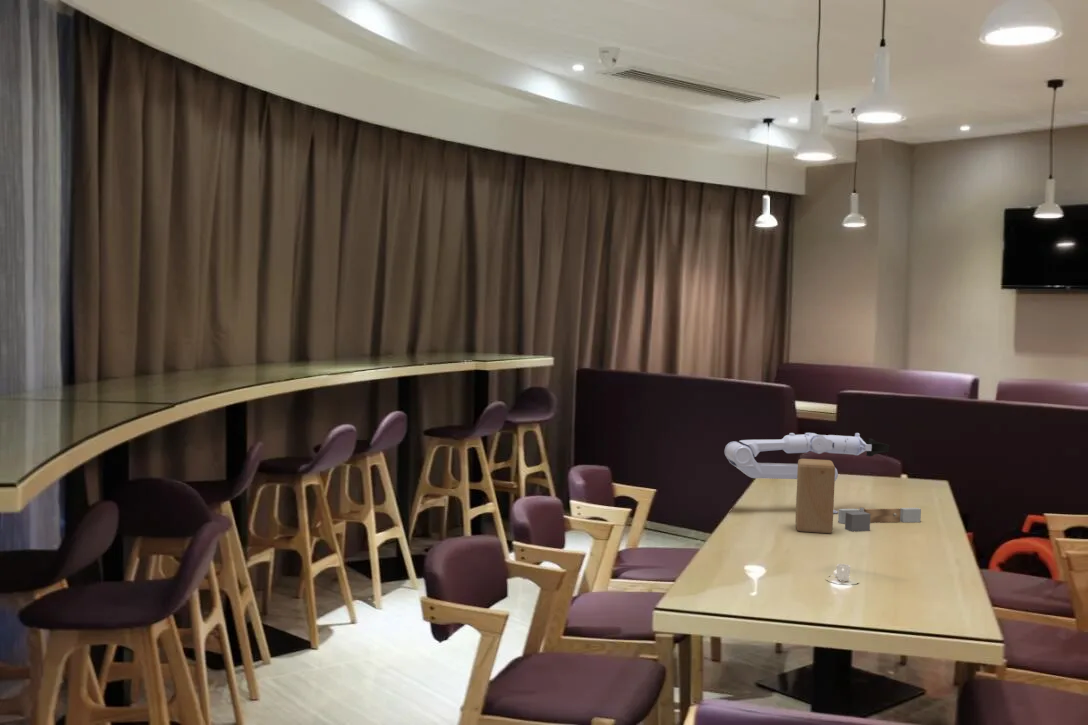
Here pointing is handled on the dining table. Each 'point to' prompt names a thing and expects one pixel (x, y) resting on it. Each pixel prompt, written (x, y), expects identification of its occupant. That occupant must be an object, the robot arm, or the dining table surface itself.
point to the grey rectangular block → (857, 521)
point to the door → (884, 515)
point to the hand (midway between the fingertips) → (883, 447)
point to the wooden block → (815, 495)
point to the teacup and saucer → (842, 572)
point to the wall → (905, 514)
